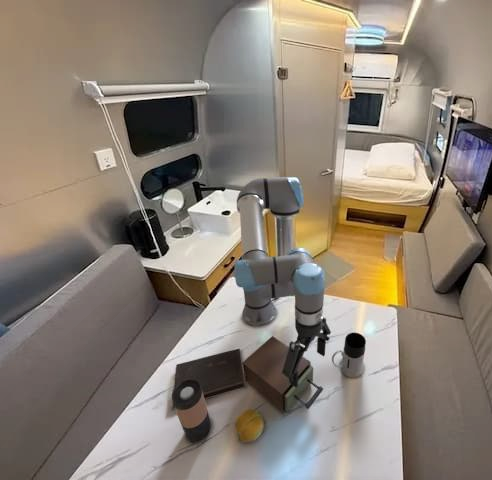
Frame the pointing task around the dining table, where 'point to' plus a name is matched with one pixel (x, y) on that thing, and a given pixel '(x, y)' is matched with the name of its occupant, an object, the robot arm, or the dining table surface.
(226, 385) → the hardcover book
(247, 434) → the bread roll
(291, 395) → the drawer
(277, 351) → the cabinet
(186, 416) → the travel mug
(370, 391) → the dining table surface
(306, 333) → the robot arm
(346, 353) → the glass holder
